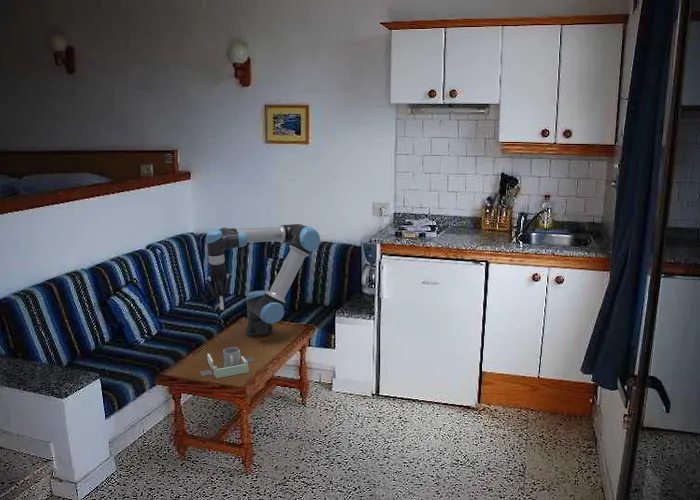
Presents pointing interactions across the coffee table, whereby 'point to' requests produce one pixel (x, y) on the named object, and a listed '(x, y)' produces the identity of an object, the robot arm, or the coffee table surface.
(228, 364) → the cup
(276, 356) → the coffee table surface
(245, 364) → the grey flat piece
